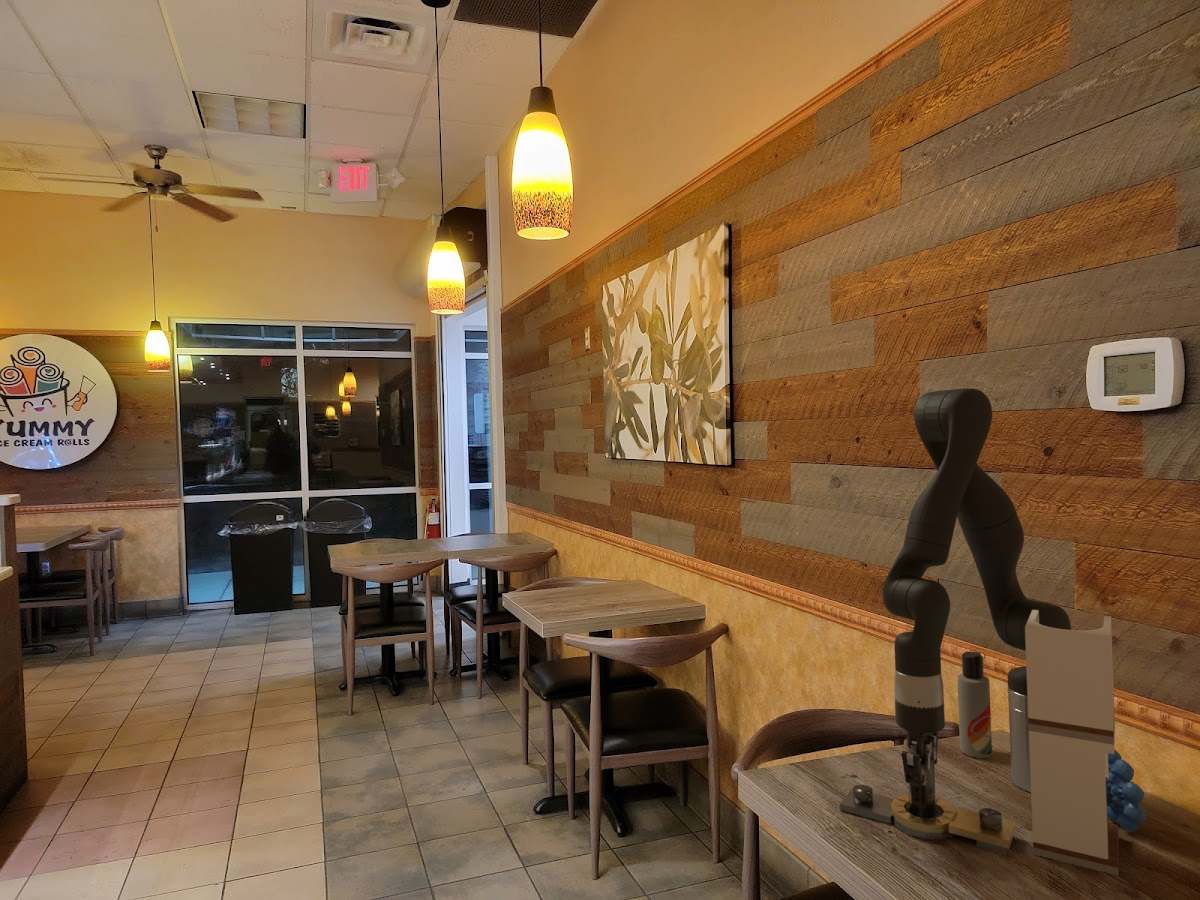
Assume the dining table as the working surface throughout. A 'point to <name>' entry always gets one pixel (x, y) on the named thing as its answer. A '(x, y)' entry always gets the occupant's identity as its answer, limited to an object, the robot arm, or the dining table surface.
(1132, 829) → the grapes
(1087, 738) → the beige rectangular tower
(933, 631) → the robot arm
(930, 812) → the pin
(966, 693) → the lotion bottle
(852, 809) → the tan piece
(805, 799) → the dining table surface
